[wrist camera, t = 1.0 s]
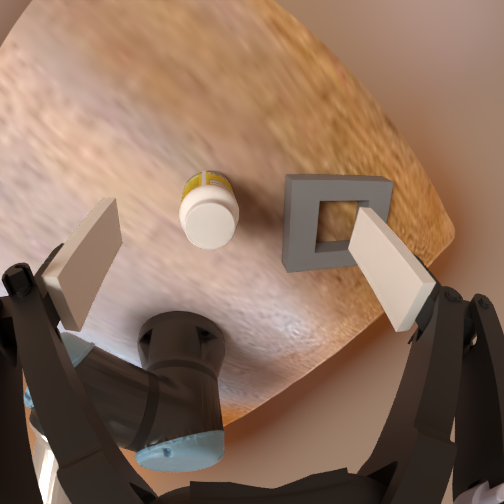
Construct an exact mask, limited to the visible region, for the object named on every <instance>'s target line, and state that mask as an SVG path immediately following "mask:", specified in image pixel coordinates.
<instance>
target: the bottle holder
mask: <svg viewBox="0 0 504 504" xmlns="http://www.w3.org/2000/svg"><path fill="white" fill-rule="evenodd" d="M392 188H393V182H392V181H390V180H388V179H386V178H384V177H382V176H362V175H325V174H289V175H286V180H285V207H284V229H283V249H282V263H283V265H284V267H285V269H286V272H287V273H289V272H299V271H309V270H319V269H328V268H337V267H346V266H355V265H358V264H357V262H356V261H355V259H354V258H353V256H352V254H351V253H350V251H349V249H348V247H349V244H350V240H346V241H332V242H318V243H316V234H317V224H318V214H319V203H320V201H351V200H358V206H357V213H356V219H357V215H358V211H359V208H360V207H365V208H371V209H372V210H373V211H374V212H375V213H376V214H377V215H378V216H379V217H380V218H381V219H382V220H383V221H384V222H385V223H387V218H388V212H389V207H390V201H391V194H392ZM355 223H356V220H355Z"/></svg>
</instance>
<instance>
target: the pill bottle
mask: <svg viewBox="0 0 504 504" xmlns="http://www.w3.org/2000/svg"><path fill="white" fill-rule="evenodd" d="M179 218H180V223H181V226H182V228H183V230H184V231H185V233H186V235H187V237H188V239H189V240H190V242H191V243H192V244H194V245H195V246H197V247H199V248H202V249H207V250H212V249H217V248H220V247H222V246H224V245H225V244H227V243H228V242H229V241H230V240H231V238H232V237H233V234H234V232H235V228H236V226H237V224H238V220H239V207H238V203H237V201H236V198H235V195H234V193H233V190H232V187H231V185H230V183H229V181H228V180H227V178H226V177H225V176H223V175H222V174H220V173H218V172H216V171H210V170H206V171H201V172H198V173H196V174H195V175H193V176H192V177H191V178H190V179H189V180H188V181H187V183H186V185H185V188H184V191H183V196H182V200H181V205H180V210H179Z"/></svg>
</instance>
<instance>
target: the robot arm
mask: <svg viewBox="0 0 504 504" xmlns="http://www.w3.org/2000/svg"><path fill="white" fill-rule="evenodd" d="M122 243H123V242H122V237H121V231H120V224H119V218H118V211H117V204H116V198H103V199H102V200H101V201H100V202H99V203H98V204H97V205H96V206H95V208H94V209H93V210H92V211H91V212H90V213H89V215H88V216H87V217H86V218H85V219H84V220H83V222H82V223H81V224H80V225H79V226H78V228H77V229H76V230H75V231H74V233H73V234H72V235H71V236H70V238H69V239H68V240H67V241H66V243H65V244H64V243H62V244H60V245H59V246H58V247H56V248H55V249H54V250H53V251H52V252H51V254H50V255H49V256H48V258H47V259H46V260H45V262H44V264H42V266H41V267H40V268H39V270H38V271H37V273H36V274H35V275H34V276H33V274H32V271H31V269H30V266H29V265H28V264H27V263H18V264H15V265H13V266H11V267H10V268H8V269H7V270H6V271H5V273H4V274H3V276H2V282H3V284H4V286H5V288H6V290H7V292H8V294H9V296H4V297H0V504H441V502H442V499H443V496H444V493H445V491H446V488H447V485H448V482H449V478H450V475H451V472H452V469H453V483H452V485H453V486H452V487H453V488H452V489H453V504H504V334H503V331H502V328H501V325H500V322H499V319H498V317H497V314H496V311H495V309H494V306H493V304H492V303H491V302H490V300H489V299H488V298H487V297H486V296H485V295H482V294H475V295H474V297H473V299H472V300H471V302H469V301H465V300H463V298H462V296H461V295H460V294H459V293H458V292H457V291H456V290H454V289H453V288H451V287H447V286H443V287H442V286H441V285H440V283H439V282H438V281H437V279H436V278H435V277H434V275H433V274H432V273H431V272H430V271H429V270H428V268H427V267H426V266H424V263H423V262H422V261H421V260H420V258H419V257H417V256H416V255H415V254H413V253H412V252H411V251H410V250H409V249H408V248H407V247H406V246H405V244H404V243H403V242H402V241H401V240H400V239H399V238H398V236H397V235H396V234H395V233H394V232H393V231H392V230H391V229H390V228H389V227H388V225H387V224H386V223H385V222H384V221H383V220H382V219H381V218H380V217H379V216H378V215H377V214H376V213H375V212H374V211H373V210H372V209H371V208H365V207H360V208H359V211H358V215H357V219H356V223H355V226H354V230H353V233H352V237H351V240H350V244H349V247H348V249H349V251H350V253H351V254H352V256H353V258H354V259H355V261H356V262H357V264H358V266H359V267H360V269H361V271H362V272H363V274H364V276H365V277H366V279H367V281H368V282H369V284H370V286H371V288H372V289H373V291H374V293H375V295H376V296H377V298H378V300H379V302H380V303H381V305H382V307H383V309H384V311H385V312H386V314H387V316H388V318H389V320H390V321H391V323H392V325H393V327H394V329H395V331H396V332H401V331H407V330H409V329H410V328H411V326H412V325H413V323H414V321H416V323H417V324H418V328H417V329H416V331H415V333H414V334H413V336H412V337H411V339H410V340H409V342H408V344H410V343H411V341H413V342H412V345H411V349H410V353H409V357H408V360H407V363H406V367H405V370H404V373H403V376H402V379H401V382H400V385H399V388H398V391H397V394H396V398H395V400H394V402H393V405H392V408H391V410H390V413H389V416H388V418H387V420H386V423H385V426H384V428H383V430H382V432H381V435H380V437H379V439H378V441H377V444H376V446H375V448H374V450H373V452H372V454H371V456H370V457H369V459H368V460H367V461H366V462H365V463H364V465H363V466H362V467H361V468H360V470H359V471H358V473H357V474H352V473H348V471H347V468H342V469H338V470H333V471H329V472H323V473H318V474H312V475H310V476H307V477H305V478H302V479H300V480H297V481H295V482H292V483H289V484H287V485H284V486H281V487H278V488H274V489H269V488H261V487H254V486H248V485H243V484H237V483H232V482H196V481H190V486H188V487H182V488H179V489H175V490H172V491H170V492H168V493H165V494H163V495H161V496H159V497H158V496H157V495H156V493H155V492H154V491H153V490H152V489H151V488H150V486H149V485H148V484H147V483H146V482H145V481H144V480H143V478H142V477H141V476H140V475H139V474H137V472H136V471H135V470H134V469H133V467H132V466H131V465H130V463H129V462H128V461H127V459H126V458H125V456H124V455H123V454H122V452H121V451H120V449H119V448H118V447H121V448H125V449H128V450H131V451H134V452H136V454H135V458H136V461H137V463H138V464H139V465H140V466H141V467H144V468H146V469H149V470H154V471H161V472H187V471H195V470H200V469H204V468H207V467H210V466H213V465H215V464H216V463H218V462H219V461H220V460H221V459H222V458H223V456H224V452H225V451H224V436H225V433H224V430H223V423H222V415H221V407H220V399H219V391H218V381H217V378H218V375H219V371H220V368H221V365H222V362H223V359H224V355H225V345H224V338H223V335H222V333H221V331H220V330H219V328H218V327H217V326H216V325H215V324H214V323H213V322H211V321H210V320H208V319H206V318H204V317H202V316H200V315H197V314H193V313H189V312H179V311H176V312H166V313H162V314H159V315H156V316H154V317H152V318H151V319H149V320H148V321H147V322H146V323H145V324H144V325H143V326H142V328H141V330H140V334H139V339H138V352H139V356H140V360H141V364H142V368H143V369H142V368H140V367H138V366H135V365H133V364H131V363H129V362H127V361H125V360H123V359H121V358H118V357H116V356H114V355H112V354H110V353H108V352H106V351H104V350H103V349H101V348H99V347H97V346H95V344H94V343H92V342H91V343H89V342H87V341H85V340H83V339H81V338H79V337H77V336H75V335H73V334H71V333H68V332H63V333H60V332H59V330H58V328H57V325H58V323H59V321H60V320H61V322H62V324H63V326H64V328H65V330H71V331H78V332H80V331H81V329H82V326H83V324H84V322H85V319H86V317H87V315H88V312H89V310H90V308H91V305H92V303H93V301H94V299H95V297H96V294H97V292H98V290H99V288H100V286H101V284H102V282H103V280H104V278H105V276H106V274H107V272H108V270H109V268H110V266H111V264H112V262H113V260H114V258H115V256H116V254H117V252H118V250H119V248H120V246H121V245H122ZM476 335H477V341H476V343H475V345H473V342H472V341H473V339H474V338H475V337H476ZM22 368H23V372H24V375H25V379H26V383H27V388H26V391H25V394H24V395H23V375H22V374H23V372H22ZM24 404H25V405H26V406H27V408H29V409H32V410H31V414H30V417H29V424H30V426H31V428H32V429H33V431H34V433H35V435H36V442H35V447H34V452H33V457H32V455H31V450H30V444H29V439H28V432H27V425H26V417H25V407H24ZM454 416H455V443H454V442H451V440H450V435H451V430H452V425H453V421H454ZM453 465H454V467H453Z"/></svg>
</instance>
